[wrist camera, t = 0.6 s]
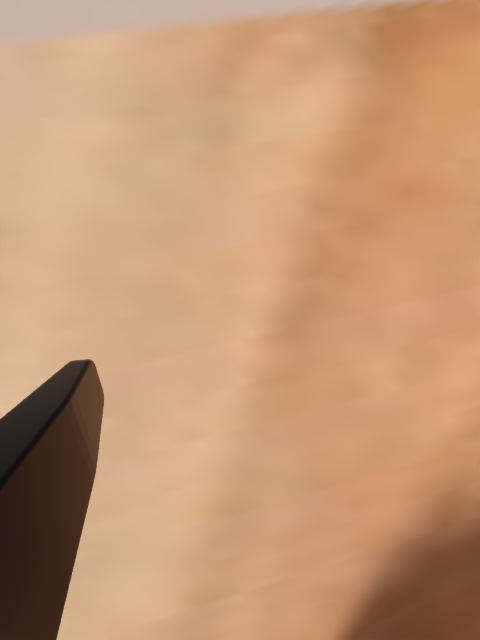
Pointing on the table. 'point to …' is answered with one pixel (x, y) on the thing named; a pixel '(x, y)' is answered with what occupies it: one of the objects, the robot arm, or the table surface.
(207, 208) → the table surface
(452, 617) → the table surface
